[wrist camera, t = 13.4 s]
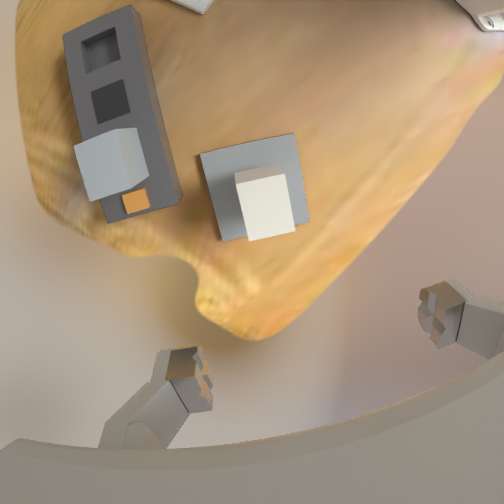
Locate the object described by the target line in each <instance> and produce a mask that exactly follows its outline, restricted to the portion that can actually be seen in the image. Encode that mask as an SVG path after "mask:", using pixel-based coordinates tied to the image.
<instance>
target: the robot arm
mask: <svg viewBox="0 0 504 504" xmlns="http://www.w3.org/2000/svg"><path fill="white" fill-rule="evenodd" d="M456 1H457V2H458V3H459V4H460V5H461V6H462V7H463V8H464V9H465V10H467V11H468V12H469V13H470V15H471V16H472V17H473V19H474V20H475V22H476V23H477V25H478V26H479V27H480V28H481V29H482V30H483V31H504V0H456ZM419 299H420V300H421V301H422V303H421V305H420V306H419V308H418V319H419V323H420V325H421V327H422V328H423V330H424V331H426V332H428V333H431V335H430V339H431V340H432V341H433V343H434V344H435V345H436V346H437V348H439V349H440V348H442V347H445V346H447V345H450V344H452V343H455V342H456V343H458V344H460V345H461V346H463V347H465V348H468V349H469V350H471V351H473V352H475V353H477V354H479V355H481V356H483V357H485V358H487V359H489V360H487V361H486V362H484V363H482V364H480V365H478V366H476V367H475V368H472V369H471V370H469V371H467V372H465V373H463V374H461V375H459V376H457V377H455V378H453V379H450V380H448V381H446V382H444V383H442V384H440V385H438V386H435V387H433V388H431V389H429V390H426V391H424V392H422V393H419V394H417V395H414V396H412V397H409V398H407V399H404V400H402V401H399V402H397V403H394V404H392V405H389V406H386V407H383V408H380V409H377V410H374V411H371V412H368V413H365V414H362V415H359V416H356V417H353V418H349V419H346V420H342V421H339V422H335V423H332V424H329V425H324V426H320V427H317V428H313V429H309V430H305V431H300V432H296V433H291V434H286V435H281V436H276V437H271V438H265V439H259V440H253V441H247V442H240V443H232V444H224V445H216V446H206V447H195V448H179V449H166V448H167V447H168V446H169V444H170V443H171V441H172V440H173V438H174V437H175V435H176V434H177V432H178V431H179V429H180V428H181V427H182V425H183V424H184V422H185V421H186V419H187V418H188V416H189V414H190V413H197V412H204V411H210V410H212V403H213V396H212V393H211V392H210V389H211V388H212V387H213V377H212V371H211V368H210V365H209V363H208V361H206V360H204V351H203V349H202V347H201V346H200V345H193V346H187V347H179V348H173V349H166V350H160V351H159V352H158V354H157V358H156V362H155V366H154V370H153V374H152V378H151V382H148V383H146V384H145V385H144V386H143V387H142V388H141V389H140V390H139V391H138V392H137V393H136V394H135V395H133V396H132V397H131V398H130V399H129V400H128V401H127V402H126V403H125V404H124V405H123V406H122V407H121V408H120V409H119V410H118V411H117V412H116V413H115V414H114V415H113V416H112V417H111V418H110V419H109V420H107V421H106V423H105V426H104V429H103V432H102V436H101V439H100V443H99V447H98V448H89V447H77V446H68V445H59V444H52V443H45V442H39V441H34V440H29V439H22V438H20V439H16V440H14V441H13V442H11V443H10V444H8V445H6V446H5V447H4V448H3V449H1V450H0V504H504V302H500V301H497V300H493V299H489V298H485V297H482V296H479V297H477V296H476V295H474V294H473V293H472V292H471V291H470V290H469V289H468V288H466V287H465V286H464V285H463V284H462V283H461V282H459V281H458V280H457V279H456V278H449V279H447V280H444V281H442V282H440V283H437V284H434V285H431V286H429V287H426V288H423V289H421V291H420V295H419Z"/></svg>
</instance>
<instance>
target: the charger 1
mask: <svg viewBox="0 0 504 504" xmlns="http://www.w3.org/2000/svg"><path fill="white" fill-rule="evenodd" d="M74 150H75V154H76V158H77V161H78V165H79V168H80V172H81V175H82V178H83V182H84V185H85V188H86V191H87V194H88V198H89V201H90V202H92V201H95V200H98V199H101V198H103V197H106V196H109V195H112V194H115V193H119V192H122V191H125V190H128V189H131V188H133V187H134V186H135V185H137V184H138V183H140V182H141V181H143V180H144V179H145V178H147V177H148V176H149V173H148V169H147V165H146V162H145V158H144V155H143V151H142V147H141V143H140V139H139V136H138V132H137V128H123V129H114V130H111V131H109V132H106V133H104V134H101V135H99V136H96V137H94V138H91V139H89V140H86V141H84V142H82V143H79V144H77V145H75V146H74Z"/></svg>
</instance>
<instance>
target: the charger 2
mask: <svg viewBox="0 0 504 504" xmlns="http://www.w3.org/2000/svg"><path fill="white" fill-rule="evenodd" d="M234 175H235V184H236V188H237V192H238V197H239V201H240V205H241V209H242V213H243V218H244V222H245V226H246V230H247V234H248V239H249V241H253V240H258V239H262V238H267V237H271V236H275V235H280V234H284V233H289V232H293V231H295V226H294V220H293V215H292V209H291V204H290V198H289V193H288V188H287V182H286V177H285V173H284V172H282V171H281V170H280V169H279V168H278V167H277V166H276V165H275V164H273V165H268V166H263V167H259V168H254V169H249V170H245V171H241V172H236V173H234Z"/></svg>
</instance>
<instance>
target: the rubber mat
mask: <svg viewBox="0 0 504 504" xmlns="http://www.w3.org/2000/svg"><path fill="white" fill-rule="evenodd" d="M200 157H201V161H202V165H203V169H204V173H205V177H206V181H207V184H208V188H209V192H210V196H211V200H212V204H213V207H214V211H215V215H216V219H217V222H218V226H219V230H220V233H221V237H222V241H223V242H224V241H228V240H232V239H237V238H241V237H245V236H248V234H247V230H246V226H245V222H244V218H243V213H242V209H241V205H240V201H239V197H238V192H237V188H236V184H235V175H234V173H236V172H241V171H245V170H249V169H254V168H259V167H263V166H268V165H273V164H275V165H276V166H277V167H278V168H279V169H280V170H281V171H282V172H284V173H285V177H286V182H287V188H288V193H289V198H290V204H291V209H292V215H293V220H294V225H298V224H303V223H307V222H310V219H309V213H308V207H307V200H306V195H305V189H304V183H303V177H302V172H301V166H300V161H299V156H298V150H297V145H296V140H295V135H294V134H293V133H292V134H287V135H281V136H276V137H271V138H266V139H261V140H256V141H251V142H247V143H242V144H238V145H233V146H229V147H225V148H221V149H217V150H213V151H209V152H205V153H201V154H200Z"/></svg>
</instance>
